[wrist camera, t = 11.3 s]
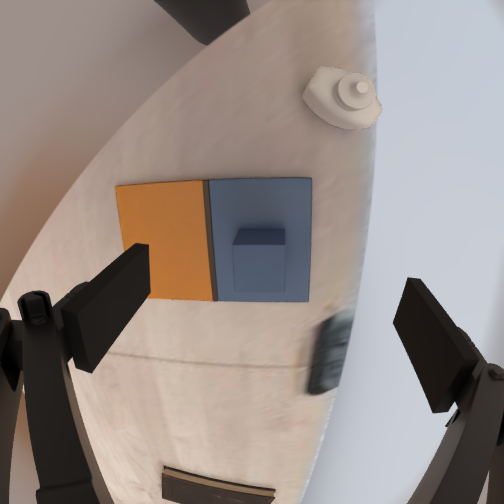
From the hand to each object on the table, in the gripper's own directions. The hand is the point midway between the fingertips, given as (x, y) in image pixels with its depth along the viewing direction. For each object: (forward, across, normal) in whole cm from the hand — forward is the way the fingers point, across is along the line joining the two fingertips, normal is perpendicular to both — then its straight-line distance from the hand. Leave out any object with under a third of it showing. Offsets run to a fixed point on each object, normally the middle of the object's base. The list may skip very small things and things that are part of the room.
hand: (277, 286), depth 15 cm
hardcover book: (+16, -5, -62) cm, 64 cm away
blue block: (+16, -1, -4) cm, 16 cm away
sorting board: (+16, -6, -4) cm, 18 cm away
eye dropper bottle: (+17, +4, +10) cm, 20 cm away
